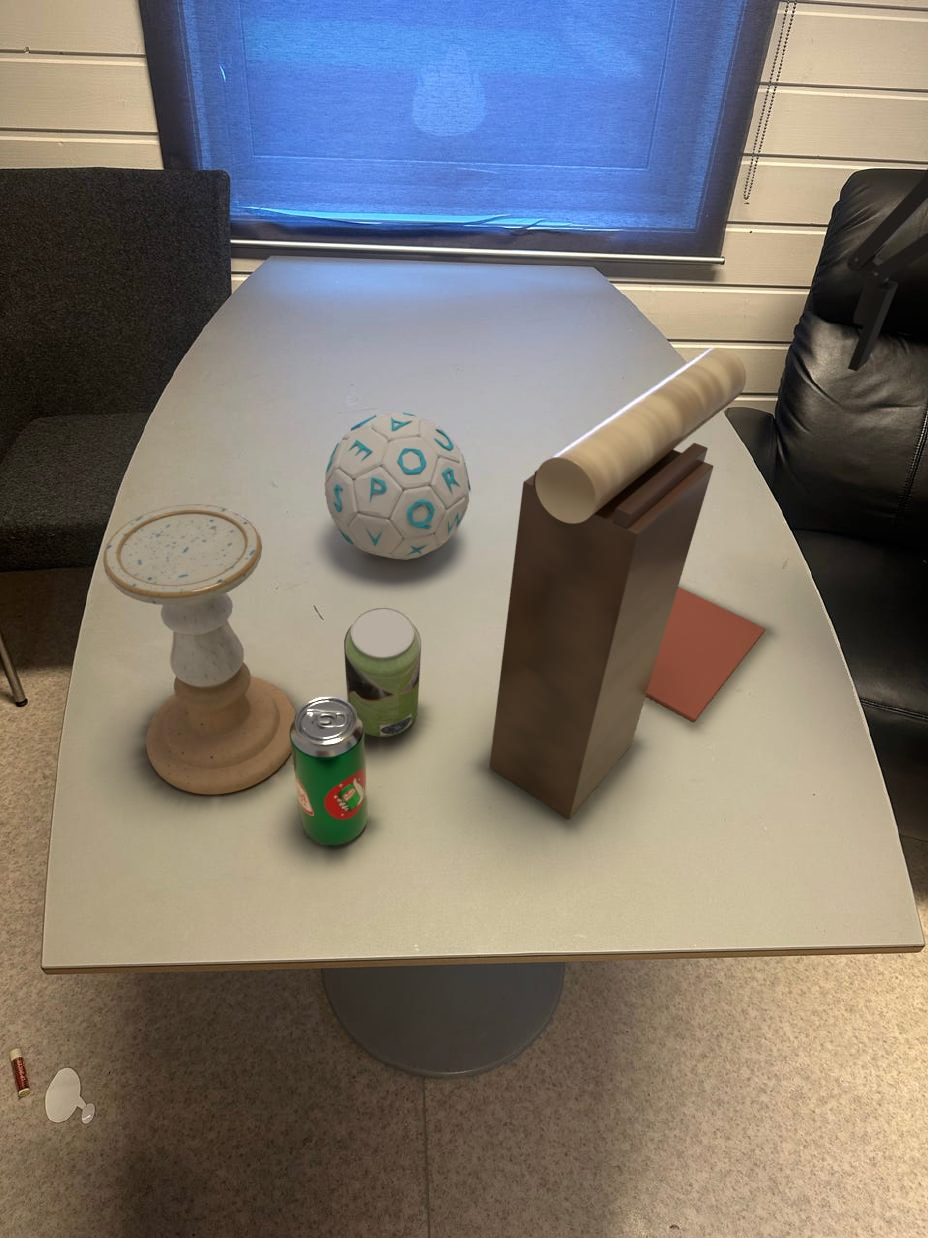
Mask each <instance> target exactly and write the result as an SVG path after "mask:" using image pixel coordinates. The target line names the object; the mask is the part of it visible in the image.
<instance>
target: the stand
mask: <svg viewBox="0 0 928 1238" xmlns="http://www.w3.org/2000/svg"><path fill="white" fill-rule="evenodd" d="M708 450H709V449H708V447H706V446H705V445H701V444H699V443H697V442H693V443H691V445H689V446H688V447H687V448H686V449H684V450H683V451H682V452H681V451H678V450H676V449H673V450H672V451H671V452H669V453H668V454H667V455H666V456H665V457H663V458H662V459H661V460H660V461H658V462H657V463H656V464H655V465H653V466H652V467H651V468H650V469H649V470H647V471H646V472H645V473H644V474H642V475H641V476H640V477H639V478H637V479H636V480H635V481H634V482H632V483H631V484H630V485H629V486H628V487H626V488H625V489H624V490H623V491H621V492H620V493H619V494H618V495H616V496H615V497H614V498H613V499H612V500H610V501H609V502H608V503H607V504H605V505H604V506H603V507H602V508H600V509H599V510H598V511H597V512H596V513H594V514H593V515H592V516H591V517H589V518H588V519H587V520H585V521H583V522H581V523H566V522H563V521H560V520H558V519H557V518H555V517H554V516H552V515H551V514H550V513H549V512H548V511H547V510H546V509H545V507H544V506H543V505H542V503H541V501H540V499H539V497H538V495H537V491H536V485H535V480H536V474H537V471H538V469H536V470H534V473H533V474H532V475H531V476H529V477H528V478H526V479H525V480H524V481H523V483H522V491H521V499H520V507H519V515H518V524H517V532H516V541H515V550H514V558H513V564H512V565H513V567H512V575H511V582H510V589H509V598H508V599H509V600H508V607H507V615H506V624H505V631H504V632H505V633H504V641H503V650H502V657H501V667H500V675H499V683H498V692H497V699H496V709H495V715H494V716H495V717H494V726H493V732H492V733H493V734H492V742H491V750H490V757H489V768H490V769H491V770H493V771H494V772H496V773H497V774H499V775H501V776H502V777H503V778H505V779H506V780H508V781H509V782H511V783H513V784H514V785H516V786H518V787H519V788H520V789H522V790H524V791H525V792H527V793H528V794H530V795H531V796H532V797H534V798H536V799H538V800H539V801H540V802H542V803H543V804H544V805H547V806H548V807H550V808H551V809H553V810H554V811H555V812H557V813H558V814H560V815H562V816H563V817H565V818H566V819H567V820H570V819H571V818H572V817H573V816H574V814H575V813H576V812H578V810H579V809H580V807H581V806H582V805H584V802H585V801H586V800H587V799H588V798H589V797H590V796H591V794H592V793H593V792H594V791H595V789H596V788H597V787H598V786H599V785H600V783H601V782H602V781H603V780H604V779H605V777H607V775H608V773H609V772H610V771H611V770H612V769H613V767H614V766H616V764H617V763H618V762H619V761H620V760H621V758H622V757H623V756H624V755H625V753H626V752H627V751H628V750H629V748H630V747H631V746H632V744H633V740H634V738H635V733H636V731H637V726H638V723H639V720H640V716H641V714H642V710H643V707H644V703H645V699H646V697H647V696H646V693H647V690H648V687H649V683H650V680H651V676H652V673H653V670H654V666H655V663H656V660H657V656H658V653H659V649H660V646H661V643H662V639H663V636H664V632H665V629H666V626H667V622H668V619H669V616H670V612H671V609H672V605H673V602H674V599H675V595H676V592H677V589H678V587H679V585H680V582H681V577H682V574H683V571H684V568H685V564H686V561H687V558H688V555H689V552H690V549H691V544H692V541H693V538H694V534H695V531H696V528H697V524H698V521H699V517H700V515H701V514H700V513H701V510H702V508H703V503H704V501H705V497H706V494H707V490H708V487H709V484H710V480H711V477H712V473H713V471H714V465H713V464H711V463H708V462H705V461H706V460H705V459H706V456H707V453H708Z"/></svg>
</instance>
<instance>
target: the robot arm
mask: <svg viewBox="0 0 928 1238" xmlns="http://www.w3.org/2000/svg"><path fill="white" fill-rule="evenodd" d="M926 204H928V168H926V171H925V172H924V175H923V176H922V178H921V180H920V181H919V182H918V183H917V184H916V185H915V186H914V187H913V188H912V189H911V190H910V191H909V192H908V193H907V195H905V197H904V198H903V199H902V200H901V201H900V202H899V203H898V204H897V206H895V208H894V209H893V210H892V211H891V212H890V213H889V214H888V215H887V216H886V218H884V219H883V220H882V221H881V223H880V224H879V225H878V226H877V227H876V228H875V229H874V230H873V231H872V232H871V233H870V234H869V236H867V238H866V239H865V240H864V241H863V242H862V243H861V244H860V245H859V246H858V247H857V249H855V250H854V251H853V253H852V254H851V255H849V257H848V259H847V261H846V267H847V268H848V270H850V271H851V272H856V273H857V274H859V275H860V276H861V277H862V278H863V280H864V286H863V288H862V289H863V290H862V292H861V294H860V297H859V300H858V303H857V306H856V308H855V311H854V313H853V324H857V325H859V326H863V327H862V329H861V332H860V334H859V337H858V340H857V343H856V346H855V348H854V350H853V354H852V356H851V358H850V361H849V363H848V367H847V369H848V370H851V371H854V372H858V371H859V370H860V369H861V368H863V367H864V366H865V365H866V364H867V363H869V359H870V357H871V354H872V353H873V349H874V347H875V345H876V342H877V339H878V337H879V333H880V332H881V330H882V326H883V324H884V321H885V319H886V316H887V314H888V311H889V309H890V306H891V304H892V301H893V299H894V296H895V293H896V290H897V288H898V286H899V282H896V281H892V280H889V278H891V277H892V276H893V275H895V274H897V273H898V272H900V271H902V270H903V269H904V268H906V267H907V266H909V265H910V264H912V263H914V262H916V261H917V260H918V259H920V258H921V257H923V256H924V255H926V254H928V232H926V233H925V234H924V235H922V236H920V237H919V238H917V239H916V240H914V241H913V242H911V243H910V244H909V245H907V246H905V247H904V248H902V249H901V250H899V251H898V252H896V253H895V254H893V255H892V256H890V257H888V259H886V260H884V261H883V260H882V259H880V258H878V257H877V256H878V255H879V254H880V253H881V252H882V250H883V249H884V248H886V246H887V245H888V244H890V242H891V241H892V240H893V239H894V238H895V237H896V236H897V235H898V234H899V233H900V232H901V230H902V229H904V228H905V227H906V225H908V223H909V222H910V221H911V220H912V219H913V218H914V217H915V216H916V215H917V214H918V213H919V212H920V211H921V210H922V209H923V208H924V207H925V205H926Z"/></svg>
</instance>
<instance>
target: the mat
mask: <svg viewBox="0 0 928 1238" xmlns="http://www.w3.org/2000/svg"><path fill="white" fill-rule="evenodd" d="M765 631H766V627H764V626H762V625H760V624H758V623H755V622H753V621H751V620H749V619H747V618H745V617H743V616H741V615H738V614H736V613H735V612H732V611H730V610H728V609H726V608H724V607H722V606H720V605H718V604H715V603H713V602H711V601H709V600H707V599H705V598H703V597H700V596H699V595H696V594H694V593H692V592H690V591H689V590H687V589H684V588H682V587H680V586H678V589H677V592H676V595H675V599H674V602H673V605H672V609H671V612H670V616H669V619H668V622H667V626H666V629H665V632H664V636H663V639H662V643H661V646H660V649H659V653H658V656H657V660H656V663H655V666H654V670H653V673H652V676H651V680H650V683H649V687H648V690H647V693H646V697H648V698H649V699H650V700H653V701H654V702H656V703H658V704H660V705H662V706H664V707H666V708H667V709H669V710H672V711H673V712H675V713H676V714H678V715H680V716H682V717H683V718H686V720H687V719H688V720H689V721H691V722H692V723H694V722H696V720H697V719H698V718H699V716H700V715H701V714H702V712H703V711H704V710H705V708H706V707H707V705H709V703H710V702H711V701H712V699H713V698H714V697H715V696H716V695H717V693H718V691H720V689H721V688H722V687H723V686H724V684H725V683H726V682H727V680H728V679H729V677H730V676H731V675H732V674H733V672H734V671H735V670H736V669H737V667H738V666H739V664H740V663H741V662H742V661H743V659H745V657H746V656H747V654H748V653H749V652H750V650H751V649H752V648H753V647H754V645H755V644H756V643H757V641H758V640H759V639H760V637H761V636H762V635H763V634H764V632H765Z"/></svg>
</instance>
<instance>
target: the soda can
mask: <svg viewBox="0 0 928 1238" xmlns="http://www.w3.org/2000/svg"><path fill="white" fill-rule="evenodd" d="M290 742H291V749H292V751H291V757H292V763H293V770H294V771H293V772H294V777H295V784H296V785H295V786H296V790H297V791H296V794H297V799H298V800H297V801H298V806H299V807H298V808H299V814H300V822H301V826H302V830H303V831H304V833H305V835H307V837H309V839H310V840H312V841H314V842H316V843H318V844H321V845H324V846H338V845H339V846H340V845H343V844H346V843H349V842H351V841H353V840H354V839H356V837H358V836H359V835H360V834H361V833H362V832H363V830H364V829H365V828H366V825H367V821H368V814H369V813H368V794H367V793H368V792H367V773H366V771H367V770H366V749H365V748H366V747H365V733H364V727H363V722H362V719H361V718H360V716H359V715H358V714H357V713H356V711H355V709H354V707H353V706H352V705H351V704H350V703H348V701H347V700H345V699H343V698H340V697H337V696H321V697H320V696H319V697H316V698H313V699H311V700H309V701H307V702H305V703H304V704H303V705H301V706H300V707H299V708H298V710H297V711H296V715H295V718H294V720H293V722H292V724H291V727H290Z"/></svg>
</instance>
